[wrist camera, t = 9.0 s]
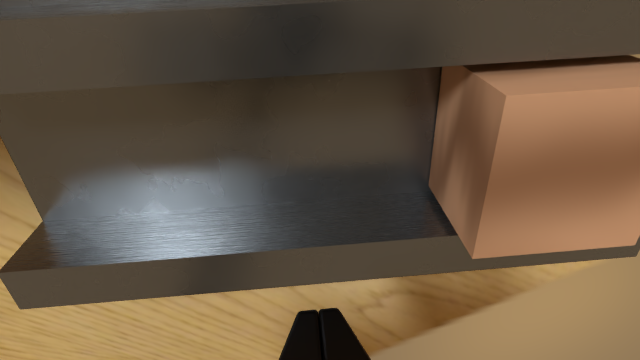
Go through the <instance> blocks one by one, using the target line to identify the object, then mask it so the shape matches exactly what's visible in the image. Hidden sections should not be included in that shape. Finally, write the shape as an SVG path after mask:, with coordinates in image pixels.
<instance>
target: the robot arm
mask: <svg viewBox="0 0 640 360" xmlns="http://www.w3.org/2000/svg"><path fill="white" fill-rule="evenodd" d="M318 314H319V316H318ZM279 360H371V359H370V357H369V356H368V354H367V353H366V351H365V350H364V348H363V346H362V345H361V343H360V342H359V340H358V339H357V337H356V335H355V334H354V332H353V331H352V329H351V328H350V326H349V325H348V323H347V321H346V320H345V318H344V317H343V315H342V314H341V312H340V311H339V310H338V309H337V308H329V309H321V310H320V311H319V313H318V312H317V311H316V310H307V311H300V312H298V314H297V316H296V318H295V321H294V323H293V326H292V328H291V330H290V333H289V335H288V338H287V340H286V343H285V345H284V348H283V350H282V353H281V355H280V358H279Z"/></svg>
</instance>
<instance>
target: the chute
mask: <svg viewBox="0 0 640 360" xmlns="http://www.w3.org/2000/svg"><path fill="white" fill-rule="evenodd" d="M619 55H631V56H634V57H637V58H640V0H0V136H1V138H2V140H3V142H4V144H5V146H6V148H7V150H8V152H9V154H10V156H11V158H12V160H13V162H14V164H15V166H16V168H17V170H18V172H19V174H20V176H21V178H22V180H23V182H24V184H25V186H26V188H27V190H28V192H29V194H30V196H31V198H32V200H33V202H34V204H35V206H36V208H37V210H38V212H39V214H40V216H41V218H42V220H43V222H42V223H41V224H40V225H39V226H38V227H37V229H36V230H35V231H34V232H33V233H32V234H31V235H30V236H29V238H28V239H27V240H26V241H25V242H24V243H23V244H22V246H21V247H20V248H19V249H18V250H17V251H16V252H15V254H14V255H13V256H12V257H11V258H10V259H9V260H8V262H7V263H6V264H5V265H4V266H3V267H2V268H1V270H0V278H1V280H2V281H3V283H4V285H5V286H6V288H7V289H8V291H9V293H10V294H11V296H12V297H13V299H14V301H15V302H16V304H17V305H18V307H19V308H20V309H31V308H43V307H54V306H66V305H77V304H89V303H101V302H112V301H124V300H135V299H147V298H159V297H170V296H182V295H194V294H205V293H217V292H228V291H240V290H252V289H263V288H275V287H286V286H298V285H310V284H321V283H333V282H345V281H356V280H368V279H379V278H391V277H403V276H414V275H426V274H437V273H449V272H461V271H472V270H484V269H496V268H507V267H519V266H530V265H542V264H554V263H565V262H577V261H588V260H600V259H612V258H623V257H635V256H637V254H638V252H639V250H640V236H639V238H638V240H637V242H636V244H635V245H633V246H621V247H609V248H597V249H585V250H574V251H562V252H550V253H538V254H527V255H515V256H503V257H491V258H479V259H472V258H471V256H470V254H469V253H468V251H467V249H466V248H465V246H464V244H463V243H462V241H461V239H460V238H459V236H458V234H457V233H456V231H455V229H454V227H453V226H452V224H451V222H450V221H449V219H448V217H447V216H446V214H445V212H444V211H443V209H442V207H441V206H440V204H439V202H438V201H437V199H436V197H435V196H434V194H433V192H432V191H431V189H430V187H429V177H430V168H431V160H432V151H433V143H434V134H435V126H436V117H437V109H438V100H439V92H440V83H441V75H442V67H444V66H460V65H476V64H492V63H508V62H524V61H540V60H555V59H571V58H587V57H603V56H619Z"/></svg>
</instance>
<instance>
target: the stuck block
mask: <svg viewBox="0 0 640 360" xmlns="http://www.w3.org/2000/svg"><path fill="white" fill-rule="evenodd" d="M429 187H430V189H431V191H432V192H433V194H434V196H435V197H436V199H437V201H438V202H439V204H440V206H441V207H442V209H443V211H444V212H445V214H446V216H447V217H448V219H449V221H450V222H451V224H452V226H453V227H454V229H455V231H456V233H457V234H458V236H459V238H460V239H461V241H462V243H463V244H464V246H465V248H466V249H467V251H468V253H469V254H470V256H471V258H472V259H479V258H491V257H503V256H515V255H527V254H538V253H550V252H562V251H574V250H585V249H597V248H609V247H621V246H633V245H635V244H636V242H637V240H638V238H639V236H640V58H637V57H634V56H631V55H619V56H603V57H587V58H571V59H555V60H540V61H524V62H508V63H492V64H476V65H460V66H444V67H442V75H441V83H440V92H439V100H438V109H437V117H436V126H435V134H434V143H433V151H432V160H431V168H430V177H429Z"/></svg>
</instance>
